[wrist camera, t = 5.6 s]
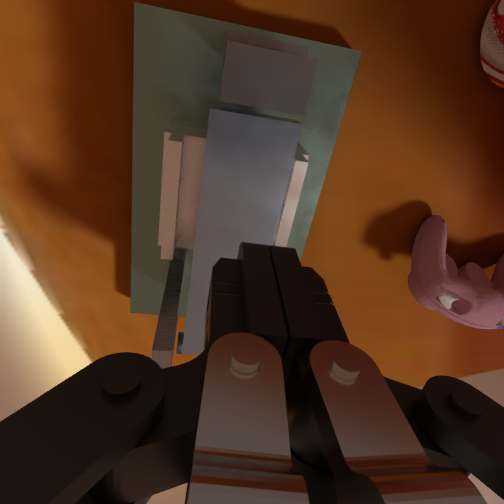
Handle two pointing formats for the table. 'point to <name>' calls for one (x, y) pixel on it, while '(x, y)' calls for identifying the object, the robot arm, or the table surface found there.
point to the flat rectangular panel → (236, 199)
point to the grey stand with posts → (195, 133)
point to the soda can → (493, 44)
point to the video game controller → (454, 281)
